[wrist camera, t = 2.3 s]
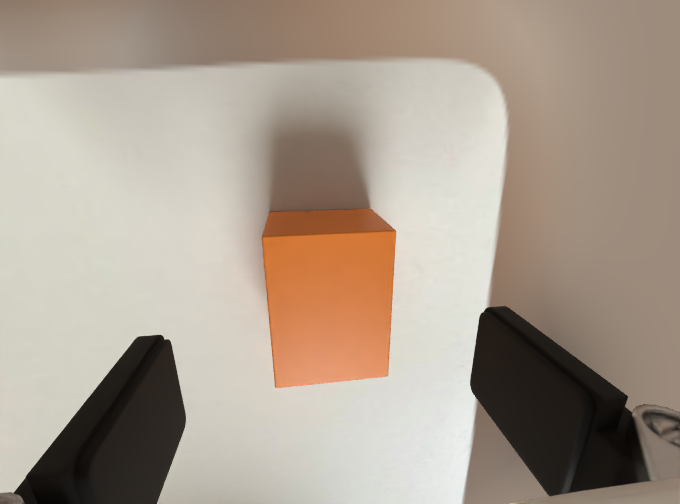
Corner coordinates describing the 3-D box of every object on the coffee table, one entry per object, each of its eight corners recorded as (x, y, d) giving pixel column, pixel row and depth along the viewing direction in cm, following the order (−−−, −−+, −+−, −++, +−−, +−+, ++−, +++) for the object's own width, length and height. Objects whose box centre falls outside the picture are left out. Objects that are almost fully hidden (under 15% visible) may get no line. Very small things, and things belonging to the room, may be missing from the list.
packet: (278, 334, 15) (275, 388, 12) (268, 211, 13) (261, 236, 10) (368, 327, 16) (388, 377, 13) (371, 208, 14) (396, 230, 11)
